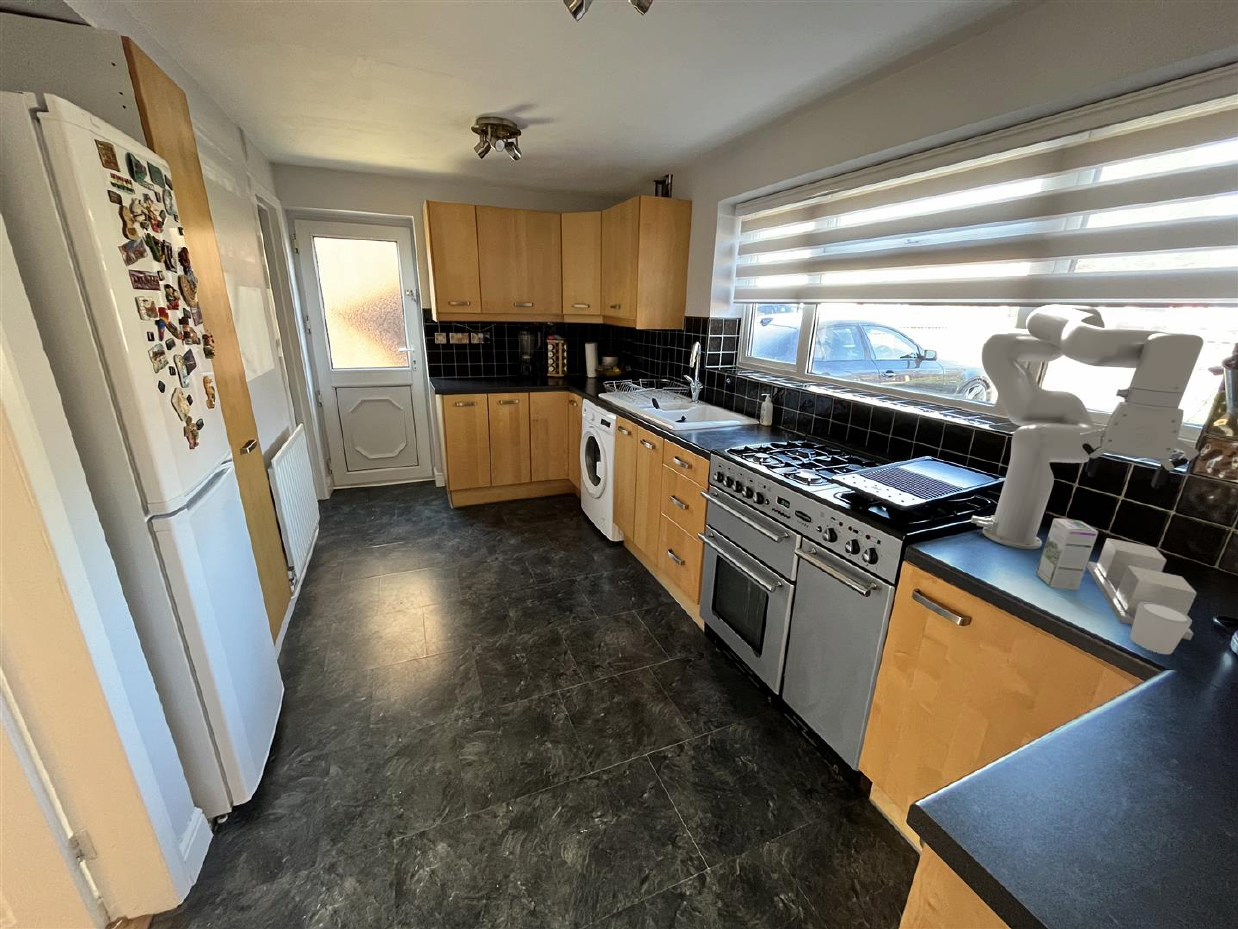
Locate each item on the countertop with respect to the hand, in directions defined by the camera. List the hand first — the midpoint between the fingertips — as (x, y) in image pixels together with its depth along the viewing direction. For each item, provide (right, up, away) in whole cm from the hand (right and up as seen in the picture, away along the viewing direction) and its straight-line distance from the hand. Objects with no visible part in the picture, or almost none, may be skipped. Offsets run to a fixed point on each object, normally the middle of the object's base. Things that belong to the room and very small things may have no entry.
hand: (1121, 481), depth 103 cm
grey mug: (-5, -30, -10) cm, 32 cm away
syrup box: (-5, -23, +10) cm, 26 cm away
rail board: (+7, -25, +4) cm, 27 cm away
